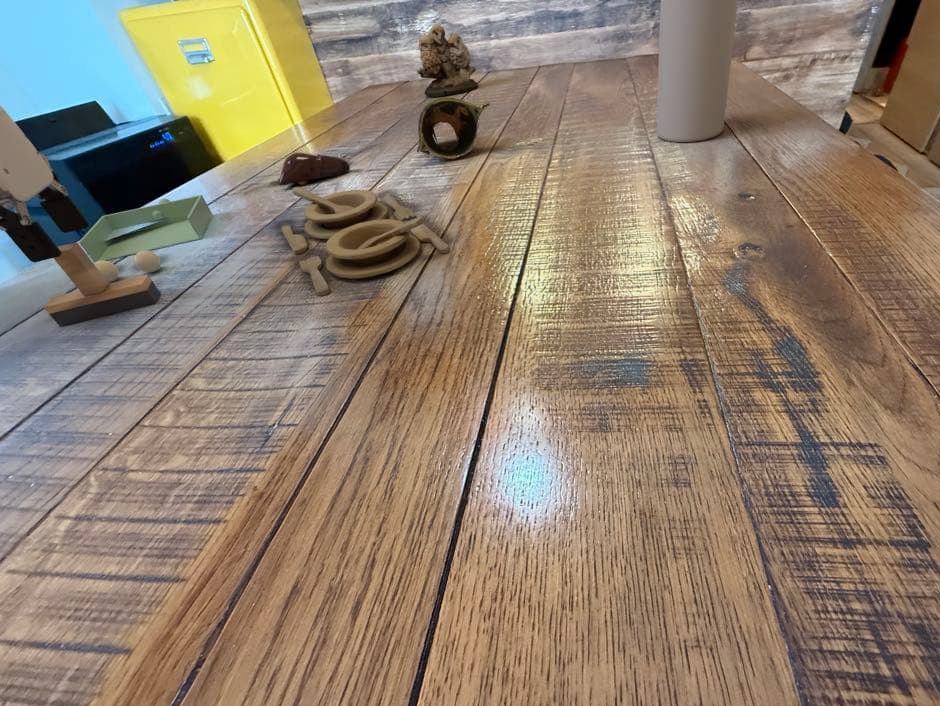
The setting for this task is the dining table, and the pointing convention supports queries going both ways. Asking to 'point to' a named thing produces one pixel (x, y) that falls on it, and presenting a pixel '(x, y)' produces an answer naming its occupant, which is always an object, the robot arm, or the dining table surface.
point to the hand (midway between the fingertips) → (63, 243)
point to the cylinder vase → (694, 67)
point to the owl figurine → (445, 64)
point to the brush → (95, 290)
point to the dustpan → (153, 237)
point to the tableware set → (358, 235)
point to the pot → (455, 114)
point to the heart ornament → (310, 168)
